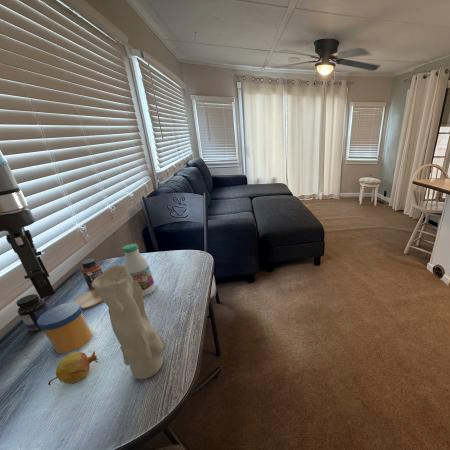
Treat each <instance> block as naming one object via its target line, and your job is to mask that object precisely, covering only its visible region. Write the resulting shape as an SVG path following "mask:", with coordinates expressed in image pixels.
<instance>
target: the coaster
mask: <svg viewBox="0 0 450 450" xmlns="http://www.w3.org/2000/svg"><path fill="white" fill-rule="evenodd" d="M71 302H76V303H79V304H80V306H81V307H82V310H86V309H91V308H93V307H95V306H98V305H100V304H101V303H103V302H104V301H103V300H102V299H101V297H100V296H99V294H98V293H97V291H96V290H95V289H94V288H93V289H90V290H88V291H86V292H84V293H81V294H79V295H78V296H76V297H75V298H74V299H73V300H72V301H71Z"/></svg>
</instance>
